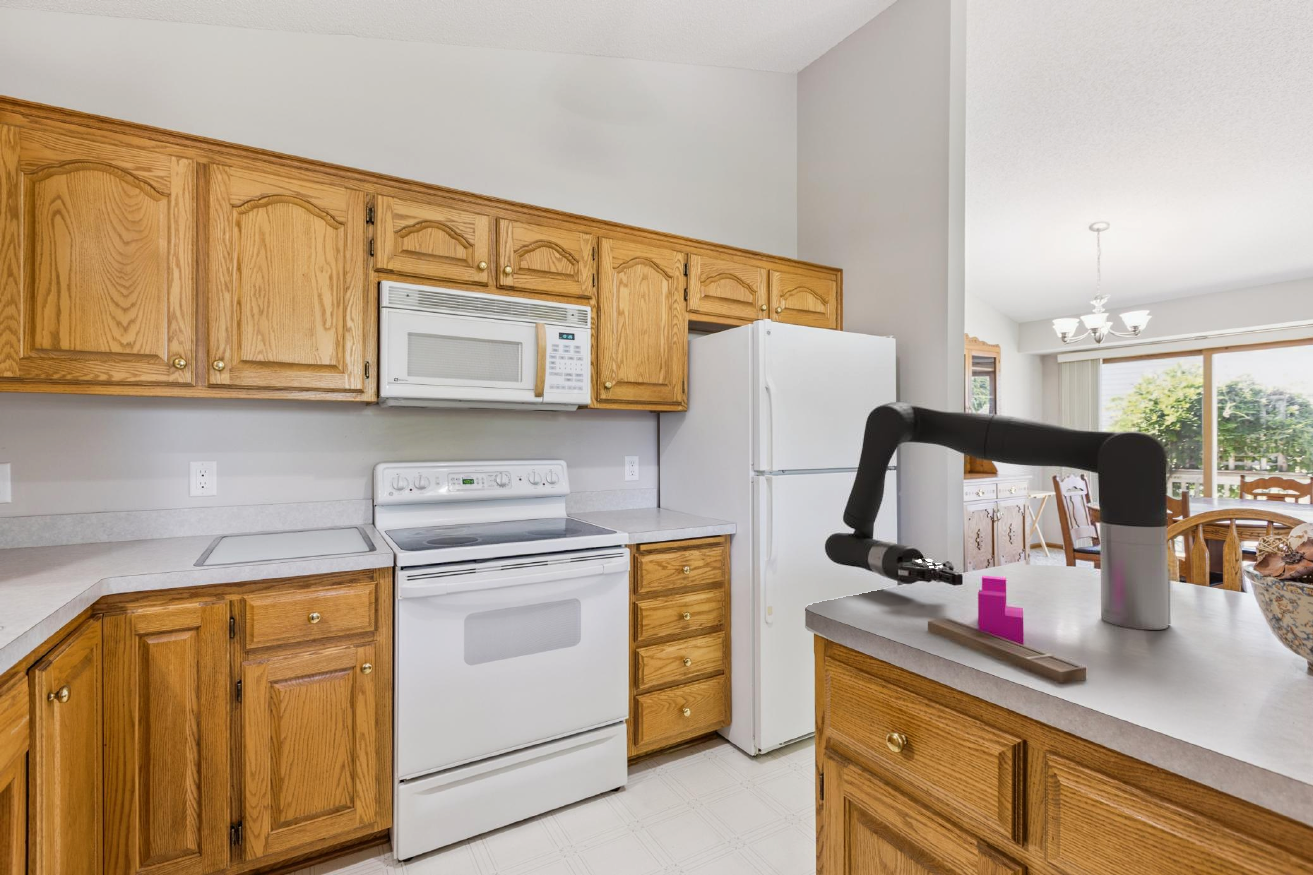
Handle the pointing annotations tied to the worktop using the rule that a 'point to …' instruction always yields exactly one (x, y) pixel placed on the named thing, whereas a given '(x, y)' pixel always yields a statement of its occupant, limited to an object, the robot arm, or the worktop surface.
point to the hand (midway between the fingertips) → (959, 579)
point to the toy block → (998, 611)
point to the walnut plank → (1009, 651)
